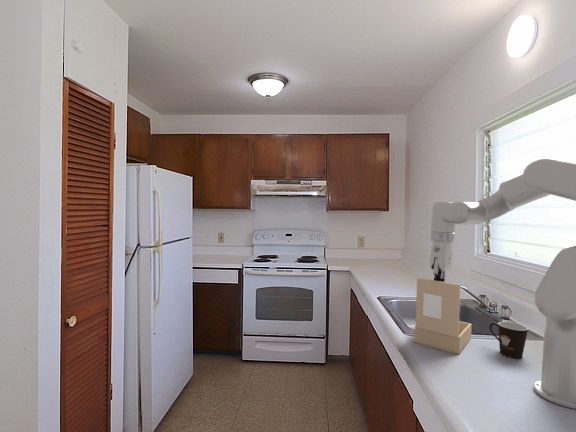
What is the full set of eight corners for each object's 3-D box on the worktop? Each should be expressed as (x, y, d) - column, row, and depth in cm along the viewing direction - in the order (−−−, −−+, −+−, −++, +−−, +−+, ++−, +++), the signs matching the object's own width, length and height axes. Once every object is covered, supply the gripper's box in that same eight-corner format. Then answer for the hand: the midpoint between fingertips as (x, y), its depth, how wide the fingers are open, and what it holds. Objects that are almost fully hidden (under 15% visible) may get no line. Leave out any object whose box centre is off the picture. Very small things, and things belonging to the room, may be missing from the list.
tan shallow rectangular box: (470, 339, 131) (471, 323, 131) (459, 354, 117) (459, 337, 117) (429, 329, 140) (430, 314, 140) (414, 342, 126) (415, 325, 126)
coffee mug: (532, 361, 114) (534, 331, 114) (505, 359, 114) (507, 329, 114) (510, 346, 126) (512, 319, 125) (486, 345, 126) (488, 318, 126)
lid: (460, 284, 115) (459, 285, 115) (458, 336, 117) (457, 337, 116) (417, 277, 124) (416, 278, 124) (416, 326, 126) (415, 327, 125)
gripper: (447, 239, 113) (443, 295, 114) (459, 237, 124) (455, 287, 125) (424, 237, 118) (420, 290, 119) (437, 234, 129) (434, 283, 130)
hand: (438, 288), depth 122 cm, fingers closed
